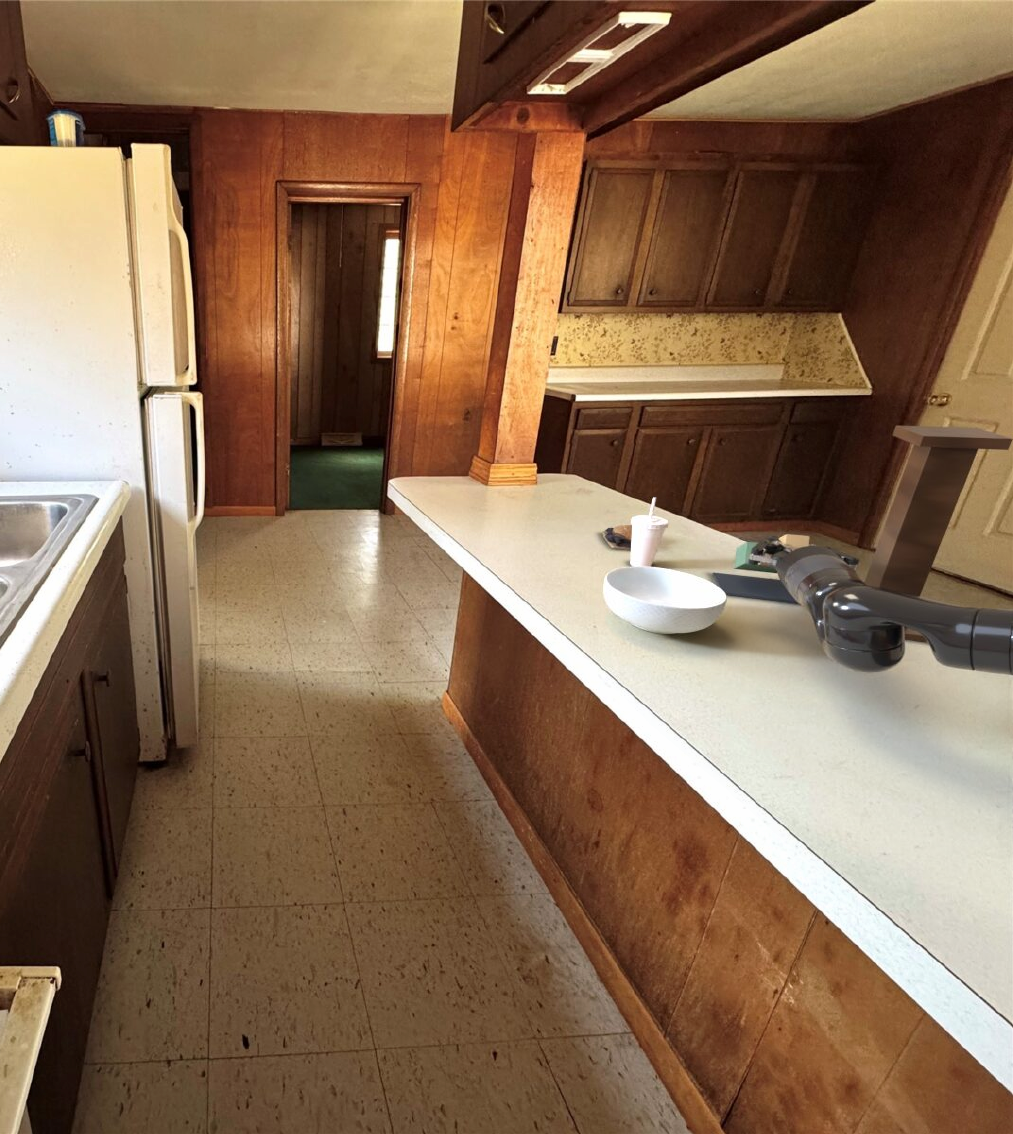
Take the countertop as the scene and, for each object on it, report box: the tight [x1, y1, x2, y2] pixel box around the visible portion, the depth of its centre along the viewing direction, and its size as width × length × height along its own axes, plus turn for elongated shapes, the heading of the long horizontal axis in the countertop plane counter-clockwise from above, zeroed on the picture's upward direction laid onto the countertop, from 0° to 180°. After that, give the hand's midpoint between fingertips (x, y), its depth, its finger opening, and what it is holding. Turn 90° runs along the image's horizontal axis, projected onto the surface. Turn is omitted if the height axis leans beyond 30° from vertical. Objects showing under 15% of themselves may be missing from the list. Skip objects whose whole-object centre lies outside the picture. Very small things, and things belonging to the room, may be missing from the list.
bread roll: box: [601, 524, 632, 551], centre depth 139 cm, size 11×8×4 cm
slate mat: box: [711, 572, 800, 605], centre depth 114 cm, size 12×10×1 cm
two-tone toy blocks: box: [733, 533, 810, 575], centre depth 107 cm, size 7×18×4 cm, turn 155°
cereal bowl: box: [602, 565, 728, 635], centre depth 102 cm, size 17×17×7 cm
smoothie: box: [629, 497, 670, 567], centre depth 124 cm, size 6×6×14 cm
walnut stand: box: [863, 425, 1013, 643], centre depth 95 cm, size 9×9×31 cm
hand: (784, 542), depth 104 cm, fingers closed on two-tone toy blocks, 3 cm apart
